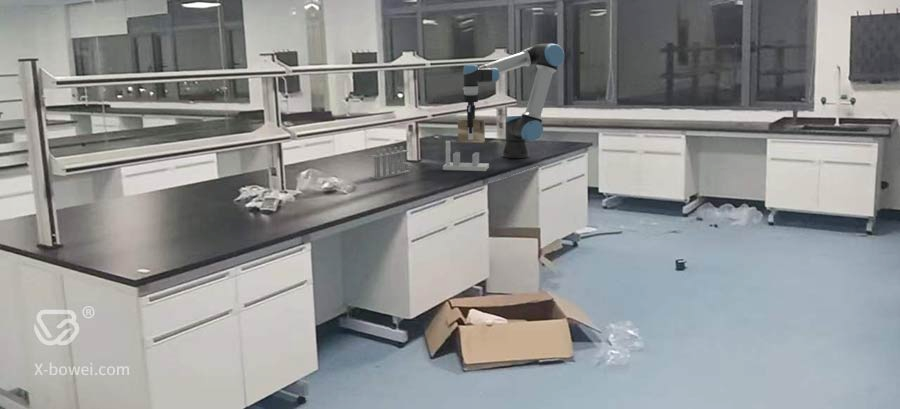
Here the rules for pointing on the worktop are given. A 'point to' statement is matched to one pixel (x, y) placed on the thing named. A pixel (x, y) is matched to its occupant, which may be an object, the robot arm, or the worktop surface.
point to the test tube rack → (389, 162)
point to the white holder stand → (463, 166)
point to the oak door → (477, 130)
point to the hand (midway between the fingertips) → (471, 138)
